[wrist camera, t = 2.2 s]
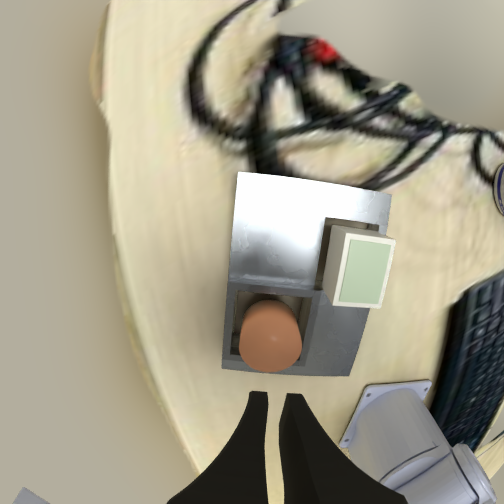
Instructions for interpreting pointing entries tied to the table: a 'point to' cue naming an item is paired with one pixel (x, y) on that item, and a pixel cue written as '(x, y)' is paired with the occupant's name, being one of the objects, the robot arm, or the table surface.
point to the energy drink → (499, 188)
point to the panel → (296, 264)
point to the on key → (357, 267)
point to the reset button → (270, 336)
